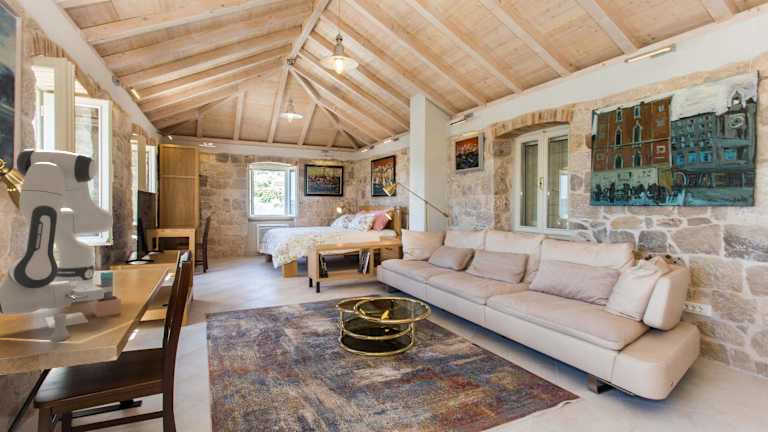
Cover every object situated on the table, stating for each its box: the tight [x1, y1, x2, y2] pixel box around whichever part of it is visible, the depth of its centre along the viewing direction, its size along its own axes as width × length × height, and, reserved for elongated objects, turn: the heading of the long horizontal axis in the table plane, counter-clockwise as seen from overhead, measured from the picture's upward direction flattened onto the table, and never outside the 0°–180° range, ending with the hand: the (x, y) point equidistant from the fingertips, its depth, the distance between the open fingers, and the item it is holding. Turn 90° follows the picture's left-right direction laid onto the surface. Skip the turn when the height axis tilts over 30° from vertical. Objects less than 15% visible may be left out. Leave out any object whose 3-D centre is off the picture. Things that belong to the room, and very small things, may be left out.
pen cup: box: [92, 295, 122, 318], centre depth 139 cm, size 7×7×6 cm
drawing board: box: [45, 311, 89, 329], centre depth 130 cm, size 20×13×1 cm, turn 46°
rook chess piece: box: [50, 312, 70, 344], centre depth 113 cm, size 4×4×8 cm
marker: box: [100, 271, 114, 301], centre depth 139 cm, size 4×4×14 cm
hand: (109, 287), depth 139 cm, fingers closed on marker, 3 cm apart
